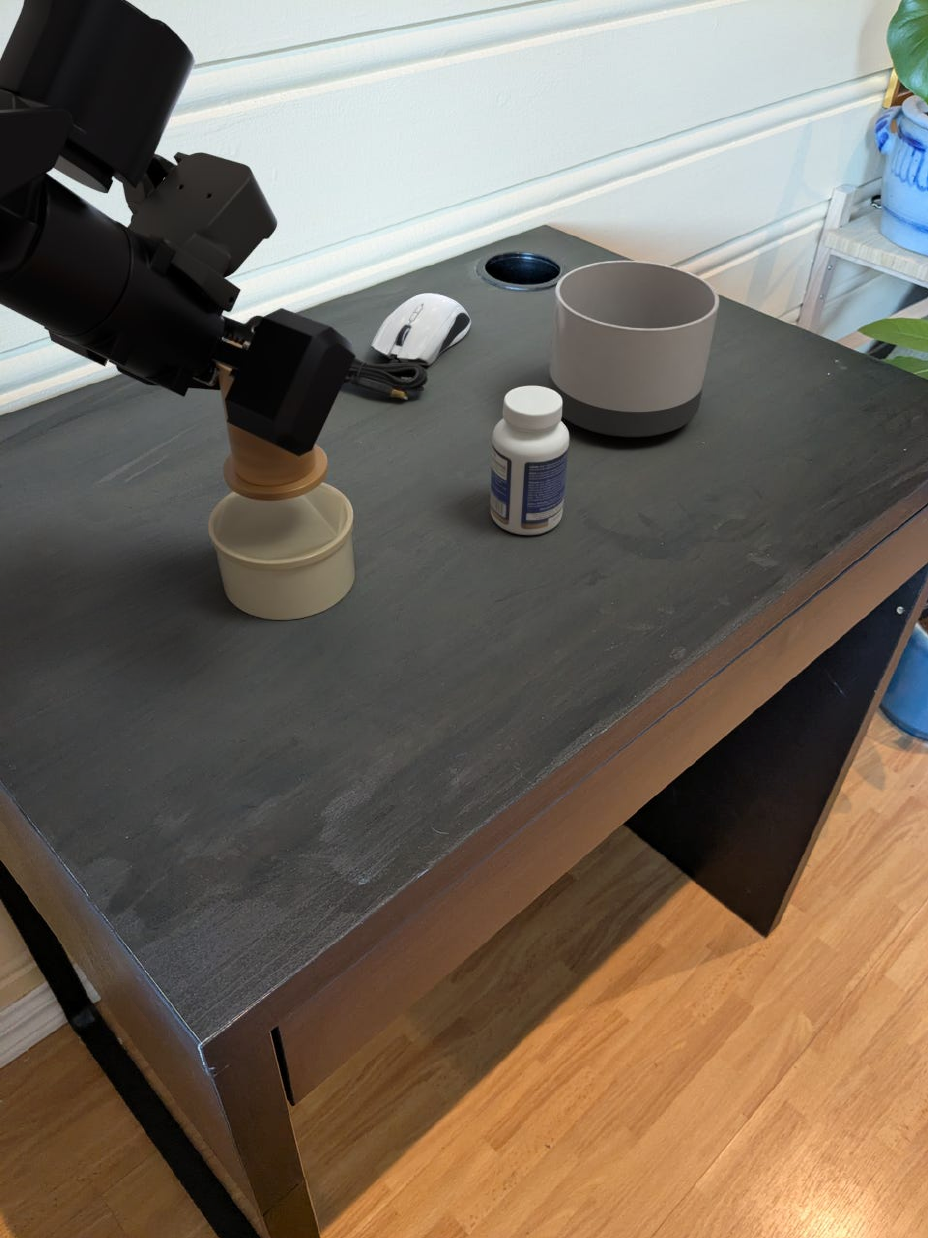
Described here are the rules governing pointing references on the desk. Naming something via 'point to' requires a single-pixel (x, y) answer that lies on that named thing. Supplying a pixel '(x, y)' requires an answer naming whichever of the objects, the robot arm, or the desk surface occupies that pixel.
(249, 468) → the flanged wooden cylinder
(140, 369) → the robot arm
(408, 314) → the computer mouse
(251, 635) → the desk surface
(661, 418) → the planter
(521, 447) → the pill bottle
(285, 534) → the cream ceramic pot
